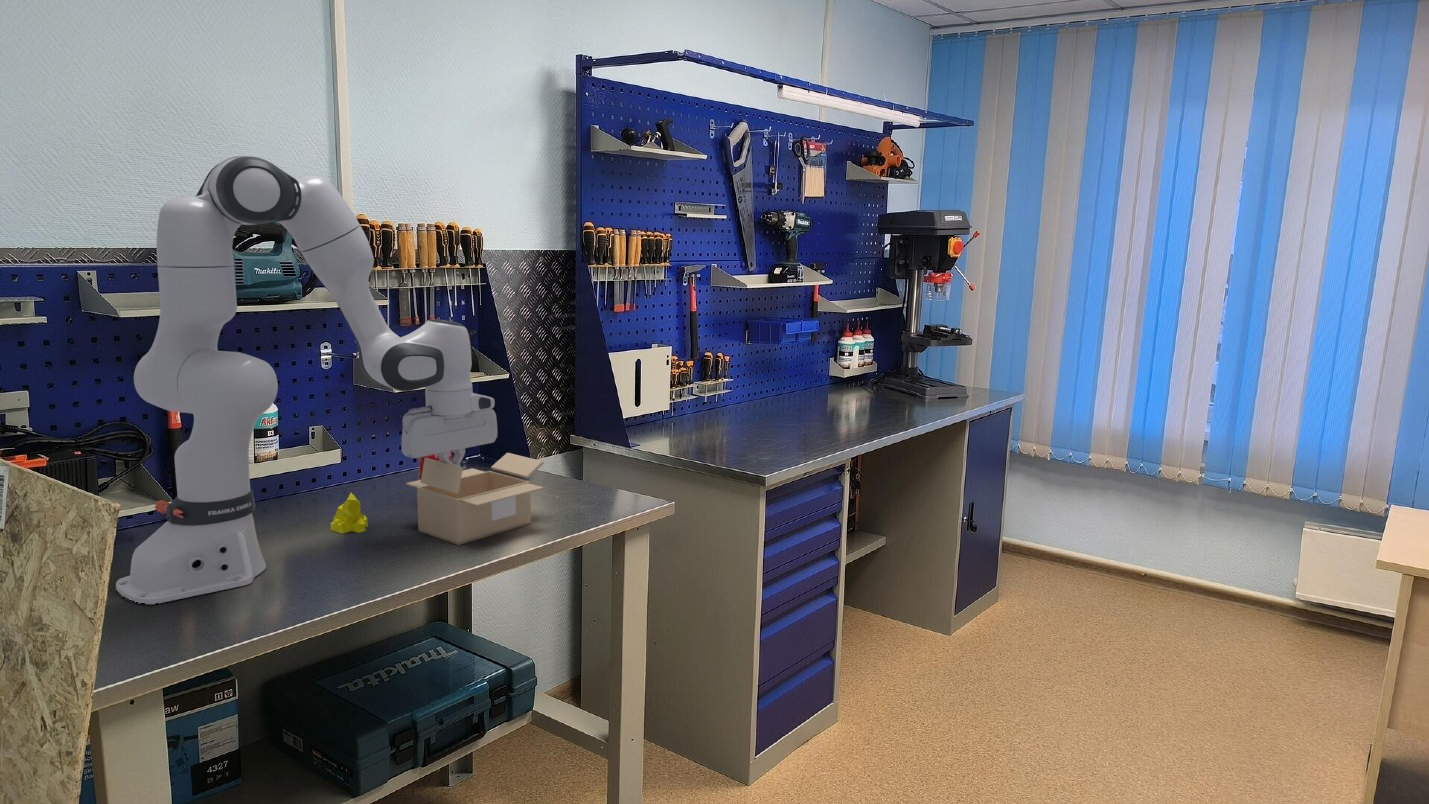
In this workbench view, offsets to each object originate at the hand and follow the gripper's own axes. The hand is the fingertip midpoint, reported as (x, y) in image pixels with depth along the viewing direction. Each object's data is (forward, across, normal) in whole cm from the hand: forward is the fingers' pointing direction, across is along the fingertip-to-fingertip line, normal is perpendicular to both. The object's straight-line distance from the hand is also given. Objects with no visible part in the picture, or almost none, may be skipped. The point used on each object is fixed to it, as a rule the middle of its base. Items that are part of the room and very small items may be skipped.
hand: (452, 472), depth 184 cm
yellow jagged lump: (+13, -12, +18) cm, 25 cm away
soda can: (+13, +10, +20) cm, 26 cm away
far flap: (+1, +16, 0) cm, 16 cm away
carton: (+13, +5, 0) cm, 14 cm away
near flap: (0, -2, 0) cm, 2 cm away
